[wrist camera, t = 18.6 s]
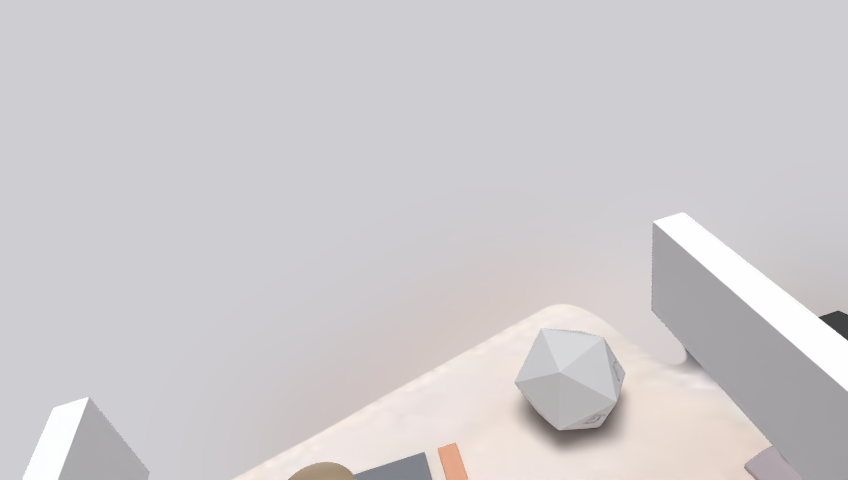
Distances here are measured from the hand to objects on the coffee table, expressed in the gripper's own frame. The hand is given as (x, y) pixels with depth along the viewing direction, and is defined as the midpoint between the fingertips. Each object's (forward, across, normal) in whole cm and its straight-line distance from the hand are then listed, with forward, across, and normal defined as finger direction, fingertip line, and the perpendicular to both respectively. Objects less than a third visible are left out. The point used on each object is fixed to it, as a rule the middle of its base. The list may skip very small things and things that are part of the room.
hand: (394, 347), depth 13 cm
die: (+21, +12, -33) cm, 41 cm away
